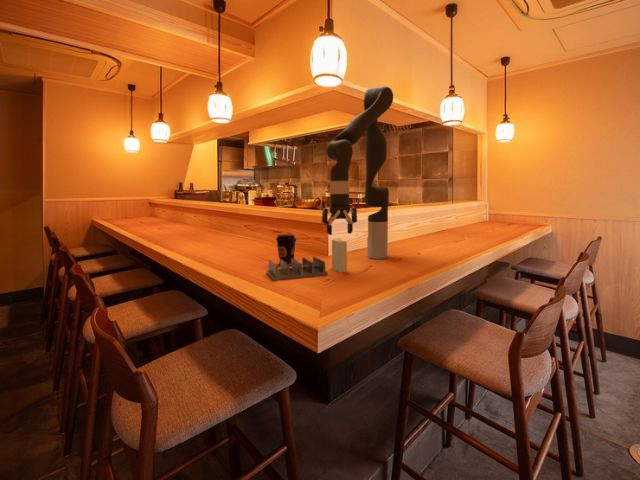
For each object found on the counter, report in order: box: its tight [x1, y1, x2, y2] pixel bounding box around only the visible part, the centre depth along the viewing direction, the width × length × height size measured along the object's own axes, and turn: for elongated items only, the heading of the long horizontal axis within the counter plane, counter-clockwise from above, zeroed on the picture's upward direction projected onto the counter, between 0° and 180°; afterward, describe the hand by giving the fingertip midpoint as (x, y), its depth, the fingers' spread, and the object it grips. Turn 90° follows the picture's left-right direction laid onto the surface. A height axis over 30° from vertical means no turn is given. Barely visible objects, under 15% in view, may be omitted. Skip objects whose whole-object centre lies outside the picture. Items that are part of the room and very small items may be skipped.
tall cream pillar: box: [331, 238, 348, 273], centre depth 136 cm, size 8×3×12 cm, turn 21°
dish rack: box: [266, 255, 329, 281], centre depth 130 cm, size 12×21×5 cm, turn 111°
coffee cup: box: [275, 234, 297, 266], centre depth 148 cm, size 9×8×13 cm
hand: (339, 234), depth 135 cm, fingers open, 8 cm apart
